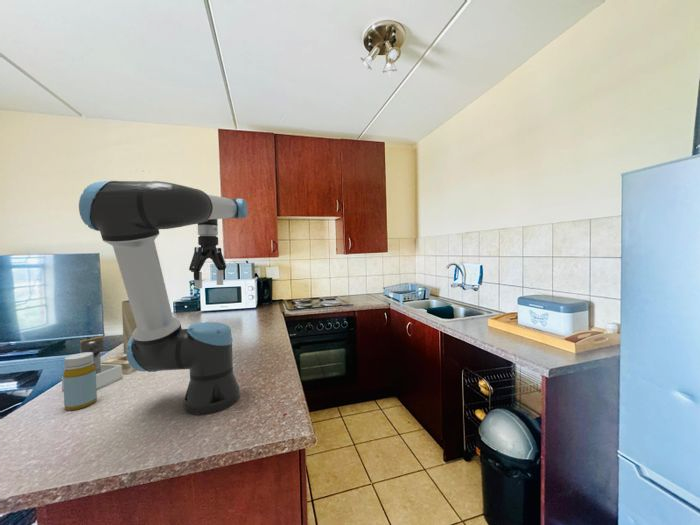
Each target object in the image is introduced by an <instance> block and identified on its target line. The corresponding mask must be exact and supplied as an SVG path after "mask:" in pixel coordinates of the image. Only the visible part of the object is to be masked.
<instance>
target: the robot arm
mask: <svg viewBox="0 0 700 525" xmlns="http://www.w3.org/2000/svg"><path fill="white" fill-rule="evenodd" d="M78 212H79V216H80V218H81V220H82V222H83V223H84V225H85V226H87V227H88V228H89V229H92V230H93V231H97V232H99V233H100V236H101V238H102V242H104V243H106V244H109V245H110V246H111V247H112V248H113V252H114V255H115V258H116V262H117V265H118V268H119V272H120V275H121V278H122V282H123V285H124V288H125V291H126V295H127V300H129V302H130V306H131V309H132V312H133V316H134V319H135V322H136V326H137V328H136V329H135V330H134V331H133V333H132V336H131V338H130V339H129V341H128V343H127V348H128V350H127V351H126V356H127V360H128V362H129V364H130V365H131V367H132V368H134V369H135V370H137V371H139V372H149V373H151V372H153V373H154V372H155V373H156V372H161V371H163V372H165V371H176V370H177V371H179V370H181V371H182V370H189V382H188V385H187V389H186V392H185V396H184V399H183V409H184V411H185V412H186V413H187V414H191V415H197V416H198V415H199V416H200V415H207V414H212V413H217V412H221V411H222V410H225V409H227V408H229V407H231V406H232V405H234V404H235V403H236V402H238V400H239V399H240V392H241V391H240V386H239V385H238V382H237V379H236V376H235V374H234V368H233V364H234V362H233V359H234V358H233V338H232V329H231V327H230V326H229V325H227V324H226V323H222V322H215V321H204V322H196V323H192V324H190V325H189V326H188V328H182V325H181V324H182V323H181V321H180V319H178V318H177V317H174V316H173V313H172V308H171V305H170V304H171V303H170V300H169V295H168V293H167V287H166V283H165V279H164V275H163V271H162V268H161V262H160V258H159V255H158V251H157V247H156V246H157V245H156V243H155V242H156V241H155V240H156V238H158V236H159V235H160V231H159V230H169V229H176V228H182V227H187V226H192V225H197V235H198V237H197V241H198V242H197V244H198V246H195V247H194V250H193V251H194V252H193V255H192V258H191V261H190V263H189V268H188V270H189V271H190V272H191V273H193V279H194V289H203V278H202V277H203V276H202V275H203V272H202V271H201V270H202V268H203V267H204V264H205V262H206V261H207V259H210V260H211V261H212V262H213V264H214V266H215V267H216V271H215V272H216V275H215V276H216V286H223V285H224V271H225V270H226V268H227V265H226V261H225V258H224V257H223V253H222V248H221V247H217V246H218V245H219V237H218V235H219V231H218V230H219V229H218V228H219V227H218V226H219V224H218V223H219V222H218V221H219V220H222V219H223V220H224V219H227V220H228V219H245V218H246V217H247V216H248V204H247V201H246V200H245V199H244V198H238V197H237V198H229V197H224V196H219V195H218V196H217V195H213V194H207V193H206V191H203V190H201V189H198V188H193V187H190V186H185V185H181V184H177V183H172V182H168V181H167V182H166V181H158V180H155V181H153V180H152V181H143V180H142V181H139V180H138V181H137V180H136V181H135V180H133V181H132V180H131V181H129V180H107V181H96V182H93V183H90V184H89V185H87V186H86V187H85V188H84V190H83V193H81V194H80V196H79V200H78Z"/></svg>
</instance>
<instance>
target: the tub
mask: <svg viewBox="0 0 700 525" xmlns="http://www.w3.org/2000/svg"><path fill="white" fill-rule="evenodd" d="M120 380H123V374H122V365H110V364H101V373H99V374H96V388H97V391H99V390H100V389H102V388H104V387H106V386H109V385H112V384H113V383H114V384H115V383H116V382H118V381H120ZM61 385H62V386H61V389H62V390H61V391H62V392H64V384H63V375H62V376H61Z"/></svg>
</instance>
